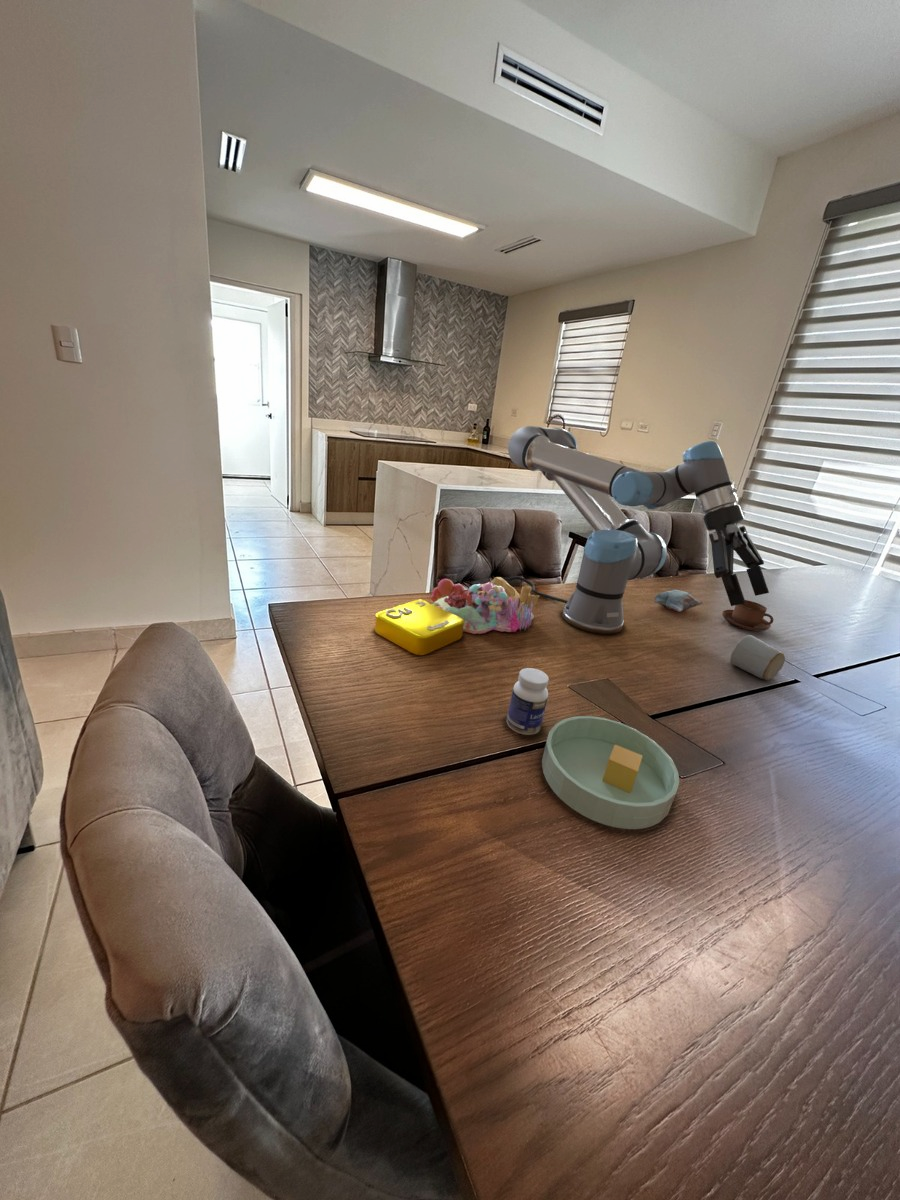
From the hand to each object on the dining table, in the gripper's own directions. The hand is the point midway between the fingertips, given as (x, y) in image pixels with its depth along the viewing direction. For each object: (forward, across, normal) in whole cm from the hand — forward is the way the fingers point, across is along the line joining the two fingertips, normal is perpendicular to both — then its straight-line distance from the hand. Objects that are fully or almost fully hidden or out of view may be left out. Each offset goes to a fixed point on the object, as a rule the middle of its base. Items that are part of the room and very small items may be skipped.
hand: (750, 599), depth 105 cm
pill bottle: (+8, -62, +15) cm, 65 cm away
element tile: (-13, -59, +44) cm, 75 cm away
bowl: (+16, -61, +3) cm, 63 cm away
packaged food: (0, +19, +28) cm, 34 cm away
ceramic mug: (+16, 0, +4) cm, 17 cm away
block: (+17, -60, +1) cm, 62 cm away
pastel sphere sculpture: (-13, -38, +45) cm, 60 cm away
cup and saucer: (+9, +28, +15) cm, 33 cm away
